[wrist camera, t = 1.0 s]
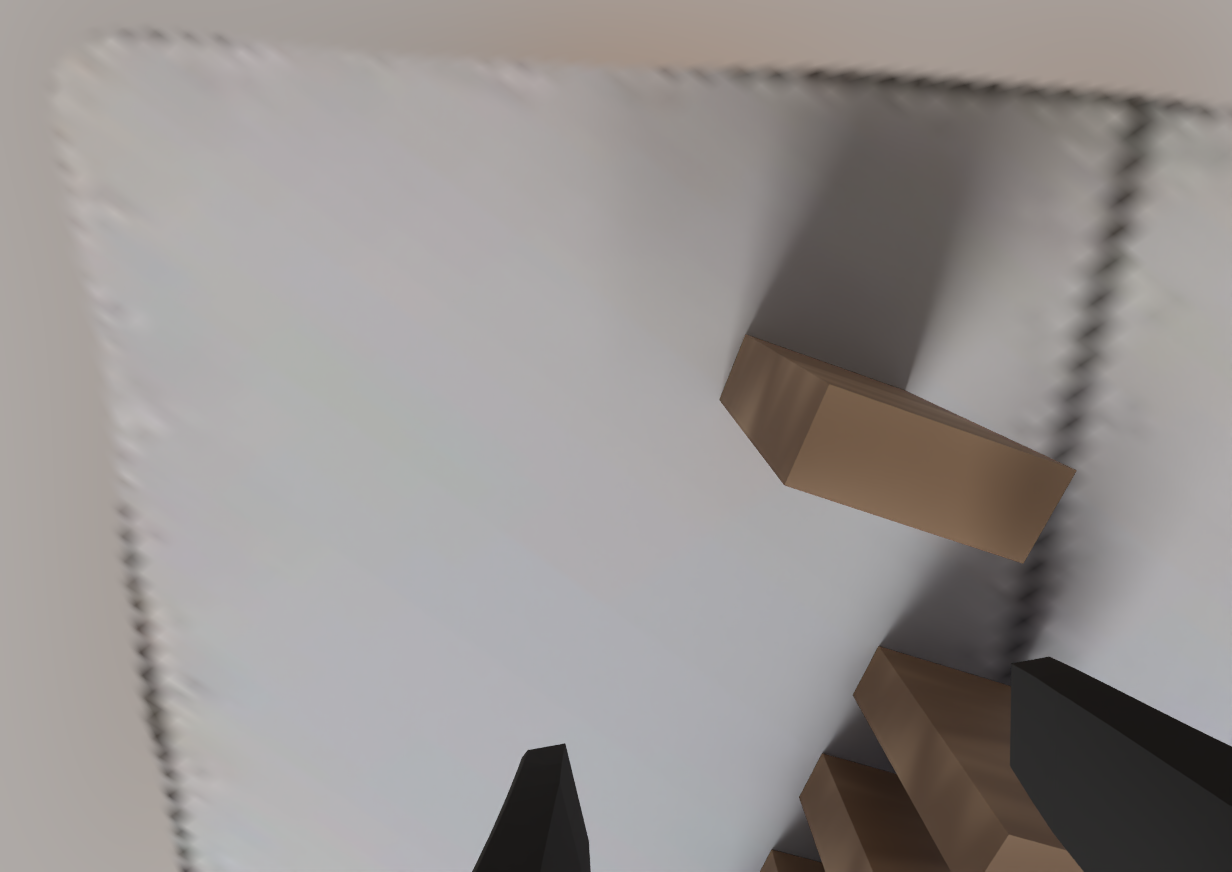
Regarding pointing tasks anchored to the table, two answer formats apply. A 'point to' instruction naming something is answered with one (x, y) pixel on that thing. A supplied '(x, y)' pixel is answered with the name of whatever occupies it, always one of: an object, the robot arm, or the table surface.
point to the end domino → (891, 451)
